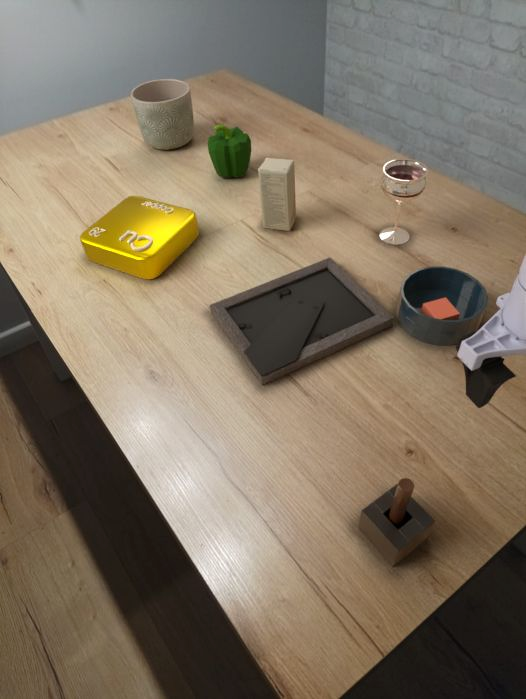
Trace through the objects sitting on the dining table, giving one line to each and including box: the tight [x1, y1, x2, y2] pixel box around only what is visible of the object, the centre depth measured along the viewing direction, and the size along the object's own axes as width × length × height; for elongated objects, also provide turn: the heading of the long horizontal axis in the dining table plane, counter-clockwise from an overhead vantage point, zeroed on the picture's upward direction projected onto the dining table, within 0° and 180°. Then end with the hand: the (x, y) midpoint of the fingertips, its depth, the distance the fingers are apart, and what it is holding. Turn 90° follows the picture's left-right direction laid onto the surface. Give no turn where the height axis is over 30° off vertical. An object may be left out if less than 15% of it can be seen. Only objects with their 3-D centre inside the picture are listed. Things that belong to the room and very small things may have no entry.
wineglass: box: [379, 158, 429, 246], centre depth 83 cm, size 7×7×12 cm
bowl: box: [395, 265, 489, 346], centre depth 72 cm, size 11×11×4 cm
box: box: [257, 157, 297, 232], centre depth 87 cm, size 5×4×11 cm
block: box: [421, 297, 460, 320], centre depth 70 cm, size 4×4×4 cm
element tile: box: [79, 195, 200, 280], centre depth 87 cm, size 15×15×5 cm
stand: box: [357, 482, 436, 568], centre depth 51 cm, size 5×5×4 cm
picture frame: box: [209, 257, 395, 386], centre depth 74 cm, size 16×2×21 cm
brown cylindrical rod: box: [388, 477, 415, 529], centre depth 49 cm, size 1×1×10 cm
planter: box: [130, 78, 195, 151], centre depth 111 cm, size 12×12×11 cm
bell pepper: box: [206, 124, 252, 179], centre depth 100 cm, size 8×8×10 cm
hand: (505, 386), depth 52 cm, fingers open, 7 cm apart
